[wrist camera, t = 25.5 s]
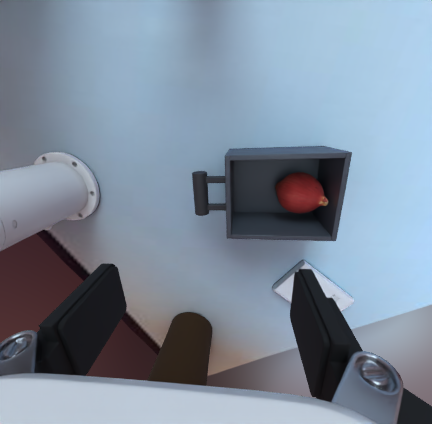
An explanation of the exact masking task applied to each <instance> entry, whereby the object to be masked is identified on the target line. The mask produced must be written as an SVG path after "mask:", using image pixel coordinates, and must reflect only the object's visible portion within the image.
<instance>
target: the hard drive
mask: <svg viewBox="0 0 432 424" xmlns="http://www.w3.org/2000/svg"><path fill="white" fill-rule="evenodd" d="M299 269H312V271H313V272H314V274H315V276H316V278H317V280H318V282H319V284H320V286H321V288H322V290H323V292H324V293H325V295H326V297H328V298H333V299H334V301H335V302H336V304H337V306H338V308H339V309H340V311H343V310H344V309H346V308H347V307H349V306H350V305H351V304H353V303H354V299H353V298H352V297H351V296H350V295H349V294H348V293H346V292H345V291H344V290H342V289H341V288H340V287H338V286H337V285H336V284H335V283H333V282H332V281H331V280H329V279H328V278H327V277H325V276H324V275H323V274H321V273H320V272H319V271H317V270H316V269H315V268H314V267H312V266H311V265H310V264H308V263H307V262H306V261H304V260H302V261H301V262H299V263H298V264H297V265H296V266H295V267H293V268H292V269H291V270H290V271H289V272H288V273H287V274H285V275H284V276H283V277H282V278H281V279H280V280H278V281H277V282H276V283H275V284H274V285H273V291H275V292H276V293H278V294H279V295H280V296H282V297H283V298H285V299H286V300H287V301H289V302H290V303H291V300H292V291H293V282H294V274H295V272H298V270H299Z"/></svg>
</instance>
